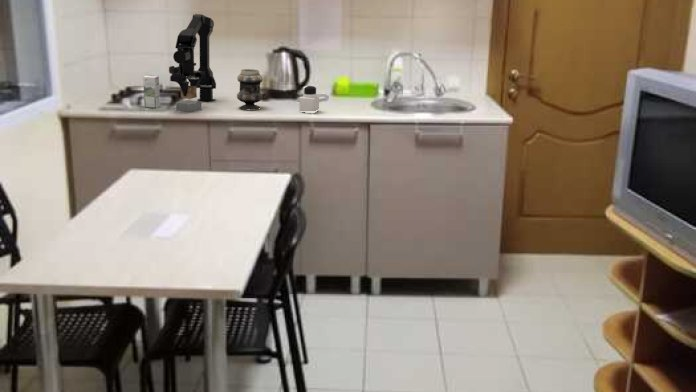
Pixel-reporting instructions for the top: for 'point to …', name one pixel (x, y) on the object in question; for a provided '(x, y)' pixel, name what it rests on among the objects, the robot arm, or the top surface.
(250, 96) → the apothecary jar
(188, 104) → the stoneware block
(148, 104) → the syrup box
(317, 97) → the medicine bottle
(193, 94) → the walnut cube
